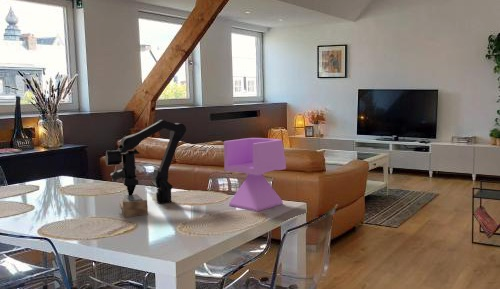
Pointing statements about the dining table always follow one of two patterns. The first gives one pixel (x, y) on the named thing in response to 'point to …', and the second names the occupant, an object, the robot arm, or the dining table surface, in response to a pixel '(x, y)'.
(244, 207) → the chair
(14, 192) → the dining table surface
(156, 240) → the dining table surface
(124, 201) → the roller bed
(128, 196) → the slab
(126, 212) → the stop wall
